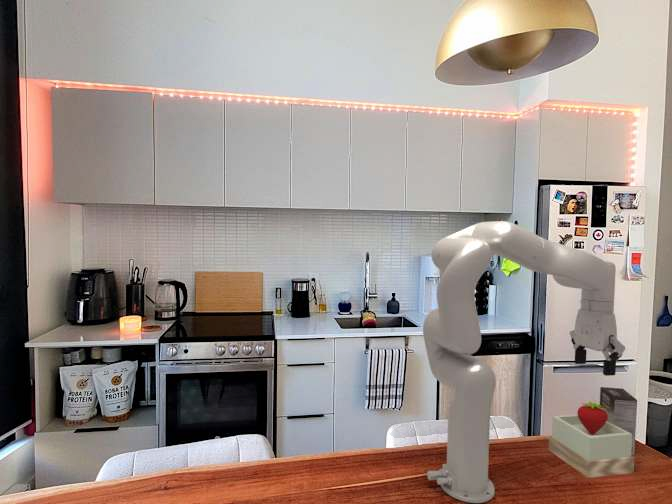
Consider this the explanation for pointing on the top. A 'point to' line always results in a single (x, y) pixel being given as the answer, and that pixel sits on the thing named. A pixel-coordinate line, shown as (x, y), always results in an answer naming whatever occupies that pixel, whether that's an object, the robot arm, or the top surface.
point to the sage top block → (592, 439)
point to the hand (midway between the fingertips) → (594, 369)
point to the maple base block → (591, 462)
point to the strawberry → (592, 417)
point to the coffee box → (620, 410)
